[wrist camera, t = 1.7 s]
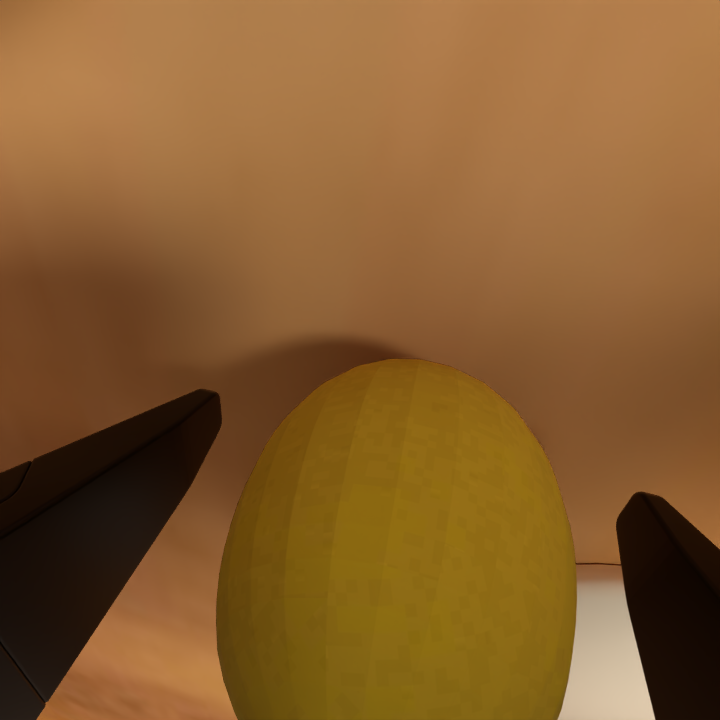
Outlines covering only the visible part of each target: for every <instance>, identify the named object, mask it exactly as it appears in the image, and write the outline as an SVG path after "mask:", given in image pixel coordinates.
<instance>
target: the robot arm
mask: <svg viewBox="0 0 720 720" xmlns="http://www.w3.org/2000/svg"><path fill="white" fill-rule="evenodd" d="M221 424H222V415H221V404H220V396H219V394H218V393H217V392H215V391H210V390H206V389H199V390H196V391H194V392H191V393H189V394H186V395H184V396H182V397H179V398H177V399H175V400H172V401H170V402H167V403H165V404H163V405H160V406H158V407H156V408H153V409H151V410H149V411H146V412H144V413H141V414H139V415H137V416H134V417H132V418H130V419H127V420H125V421H123V422H120V423H118V424H115V425H113V426H111V427H108V428H106V429H104V430H101V431H99V432H97V433H94V434H92V435H89V436H87V437H85V438H82V439H80V440H78V441H75V442H73V443H71V444H68V445H66V446H63V447H61V448H59V449H56V450H54V451H52V452H49V453H47V454H44V455H42V456H40V457H37V458H35V459H34V460H33V461H32V462H31V461H28V462H25V463H23V464H21V465H18V466H16V467H14V468H11V469H9V470H6V471H4V472H1V473H0V720H36V719H37V718H38V716H39V715H40V713H41V712H42V710H43V709H44V707H45V705H46V704H45V703H46V702H48V701H49V699H50V698H51V696H52V695H53V693H54V692H55V690H56V689H57V687H58V686H59V684H60V683H61V681H62V679H63V678H64V676H65V675H66V673H67V672H68V670H69V669H70V667H71V666H72V664H73V663H74V661H75V660H76V658H77V657H78V655H79V654H80V652H81V651H82V649H83V648H84V646H85V645H86V643H87V642H88V640H89V639H90V637H91V636H92V634H93V633H94V631H95V630H96V628H97V627H98V625H99V624H100V622H101V621H102V619H103V618H104V616H105V615H106V613H107V612H108V610H109V609H110V607H111V606H112V604H113V603H114V601H115V600H116V598H117V596H118V595H119V593H120V592H121V590H122V589H123V587H124V586H125V584H126V583H127V581H128V580H129V578H130V577H131V575H132V574H133V572H134V571H135V569H136V568H137V566H138V565H139V563H140V562H141V560H142V559H143V557H144V556H145V554H146V553H147V551H148V550H149V548H150V547H151V545H152V544H153V542H154V541H155V539H156V538H157V536H158V535H159V533H160V532H161V530H162V529H163V527H164V526H165V524H166V523H167V521H168V520H169V518H170V517H171V515H172V514H173V512H174V510H175V509H176V507H177V506H178V504H179V503H180V501H181V500H182V498H183V497H184V495H185V494H186V492H187V491H188V489H189V487H190V486H191V484H192V482H193V480H194V478H195V477H196V475H197V473H198V471H199V469H200V467H201V465H202V463H203V461H204V459H205V457H206V455H207V453H208V451H209V449H210V448H211V446H212V444H213V442H214V440H215V438H216V436H217V434H218V432H219V430H220V427H221ZM616 530H617V538H618V545H619V553H620V560H621V568H622V575H623V582H624V590H625V596H626V602H627V607H628V611H629V616H630V620H631V624H632V628H633V632H634V636H635V640H636V644H637V648H638V652H639V656H640V660H641V664H642V668H643V672H644V676H645V680H646V684H647V688H648V692H649V696H650V700H651V705H652V709H653V713H654V717H655V720H720V549H719V548H717V547H716V546H715V545H714V544H713V543H712V542H711V541H710V540H709V539H708V538H706V537H705V536H704V535H703V534H702V533H701V532H700V531H699V530H698V529H697V528H695V527H694V526H693V525H692V524H691V523H690V522H689V521H688V520H687V519H686V518H685V517H683V516H682V515H681V514H680V513H679V512H678V511H677V510H676V509H675V508H674V507H672V506H671V505H670V504H669V503H668V502H667V501H666V500H665V499H664V498H662V497H660V496H658V495H654V494H650V493H645V492H637V493H635V494H634V495H633V496H632V497H631V499H630V500H629V502H628V503H627V504H626V506H625V507H624V509H623V510H622V512H621V513H620V514H619V516H618V518H617V522H616Z"/></svg>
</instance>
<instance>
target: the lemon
mask: <svg viewBox="0 0 720 720" xmlns="http://www.w3.org/2000/svg"><path fill="white" fill-rule="evenodd" d="M576 610H577V573H576V562H575V551H574V545H573V539H572V534H571V528H570V524H569V521H568V517H567V514H566V510H565V507H564V503H563V500H562V497H561V494H560V490H559V487H558V484H557V480H556V477H555V475H554V472H553V470H552V467H551V465H550V462H549V460H548V458H547V456H546V454H545V452H544V451H543V449H542V447H541V445H540V444H539V443H538V441H537V440H536V438H535V437H534V435H533V434H532V433H531V431H530V430H529V428H528V427H527V426H526V424H525V423H524V421H523V420H522V419H521V417H520V416H519V414H518V413H517V412H516V410H515V409H514V408H513V407H512V406H511V405H510V404H509V403H508V402H507V401H505V400H504V399H503V398H502V397H500V396H499V395H498V394H497V393H496V392H494V391H493V390H492V389H491V388H490V387H488V386H487V385H486V384H485V383H483V382H482V381H480V380H478V379H476V378H474V377H471V376H469V375H467V374H465V373H463V372H461V371H459V370H457V369H455V368H453V367H450V366H447V365H443V364H438V363H434V362H430V361H426V360H421V359H387V360H383V361H378V362H373V363H369V364H364V365H359V366H357V367H355V368H353V369H351V370H349V371H346V372H344V373H342V374H340V375H338V376H336V377H334V378H332V379H330V380H328V381H326V382H324V383H323V384H322V385H320V386H319V387H318V388H317V389H315V390H314V391H313V392H312V393H311V394H310V395H309V396H308V397H307V398H305V399H304V400H303V401H302V402H301V403H300V404H299V405H298V406H297V407H296V408H295V409H294V410H293V411H292V412H291V413H290V414H289V415H288V416H287V417H286V418H285V419H284V420H283V421H282V423H281V424H280V425H279V426H278V428H277V429H276V430H275V431H274V433H273V435H272V436H271V438H270V439H269V441H268V442H267V444H266V446H265V447H264V449H263V451H262V453H261V455H260V457H259V459H258V461H257V463H256V465H255V467H254V469H253V471H252V473H251V475H250V477H249V479H248V481H247V483H246V485H245V487H244V490H243V492H242V495H241V497H240V499H239V502H238V504H237V507H236V510H235V513H234V516H233V519H232V522H231V525H230V529H229V533H228V537H227V540H226V544H225V548H224V553H223V558H222V563H221V568H220V573H219V582H218V592H217V606H216V629H217V651H218V656H219V661H220V666H221V671H222V676H223V680H224V683H225V686H226V689H227V692H228V695H229V698H230V701H231V704H232V706H233V709H234V712H235V714H236V716H237V719H238V720H557V719H558V717H559V715H560V712H561V710H562V705H563V701H564V697H565V693H566V688H567V684H568V679H569V673H570V667H571V660H572V654H573V645H574V637H575V628H576Z"/></svg>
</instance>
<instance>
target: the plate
mask: <svg viewBox="0 0 720 720" xmlns="http://www.w3.org/2000/svg"><path fill="white" fill-rule="evenodd" d="M576 573H577V610H576V628H575V637H574V645H573V654H572V660H571V667H570V673H569V679H568V684H567V688H566V693H565V697H564V701H563V705H562V710H561V712H560V715H559V717H558V719H557V720H655V717H654V713H653V709H652V705H651V700H650V696H649V692H648V688H647V684H646V680H645V676H644V672H643V668H642V664H641V660H640V656H639V652H638V648H637V644H636V640H635V636H634V632H633V628H632V624H631V620H630V616H629V611H628V607H627V602H626V596H625V590H624V582H623V575H622V568H621V566H618V565H602V564H590V565H576Z"/></svg>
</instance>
